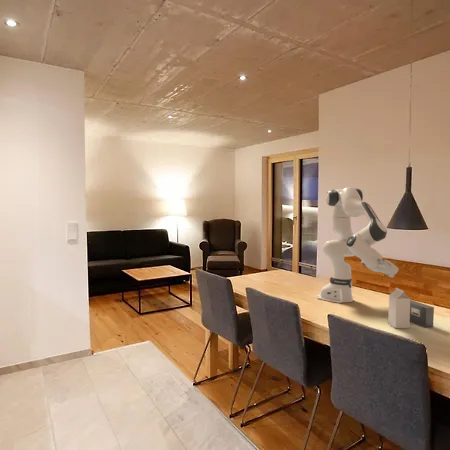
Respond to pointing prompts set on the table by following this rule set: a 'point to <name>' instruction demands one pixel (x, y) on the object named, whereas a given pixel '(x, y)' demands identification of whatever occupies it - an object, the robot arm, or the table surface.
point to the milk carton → (399, 309)
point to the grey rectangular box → (421, 314)
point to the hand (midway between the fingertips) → (392, 276)
